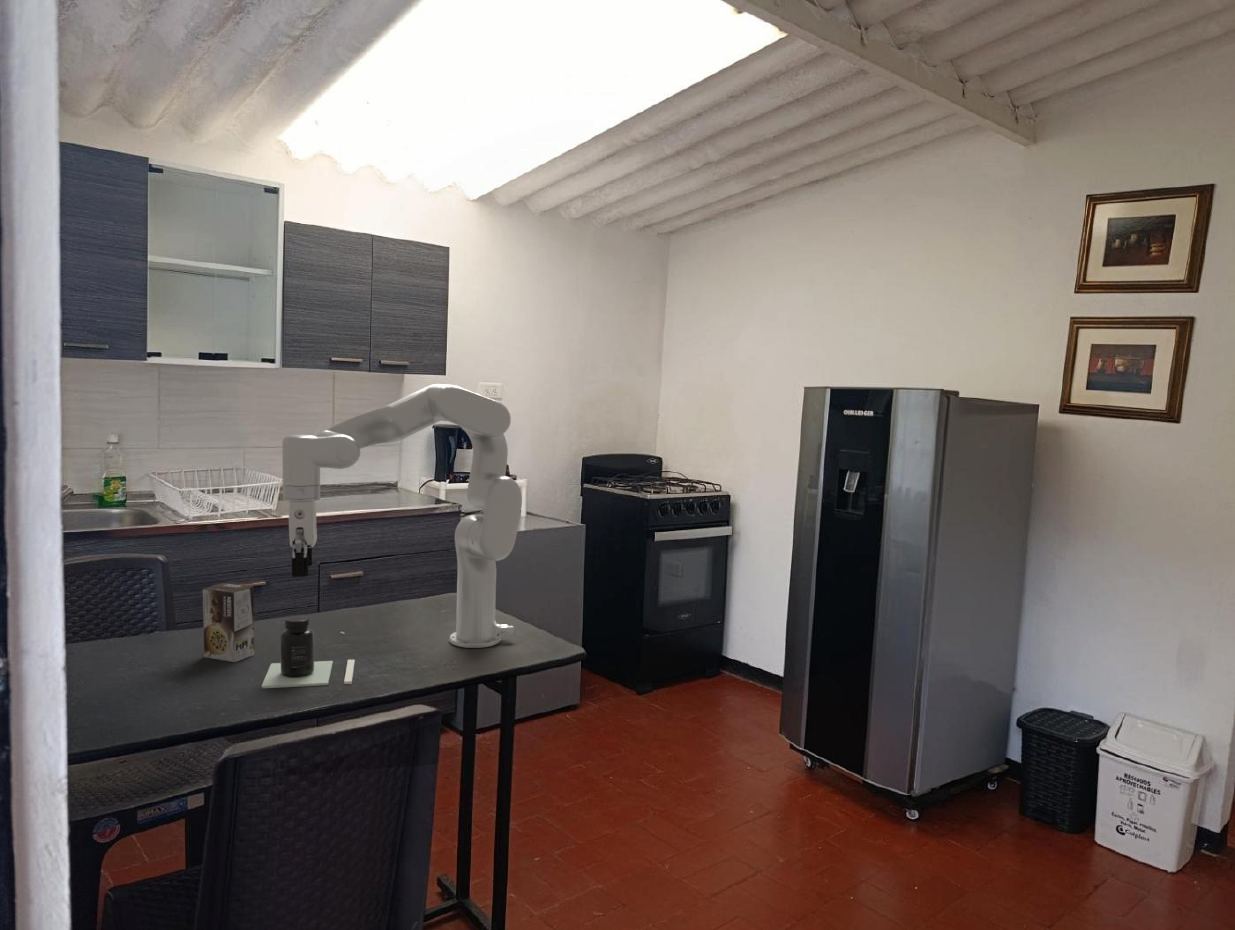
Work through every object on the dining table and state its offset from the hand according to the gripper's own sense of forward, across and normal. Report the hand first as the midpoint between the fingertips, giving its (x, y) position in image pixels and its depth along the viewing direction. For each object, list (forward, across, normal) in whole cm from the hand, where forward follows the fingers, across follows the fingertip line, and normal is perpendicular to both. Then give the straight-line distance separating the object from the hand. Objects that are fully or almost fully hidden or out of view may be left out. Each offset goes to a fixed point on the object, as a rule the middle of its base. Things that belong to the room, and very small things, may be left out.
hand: (302, 570), depth 183 cm
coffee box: (+23, +13, +17) cm, 31 cm away
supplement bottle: (+22, -2, +1) cm, 22 cm away
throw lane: (+22, -2, -2) cm, 23 cm away
